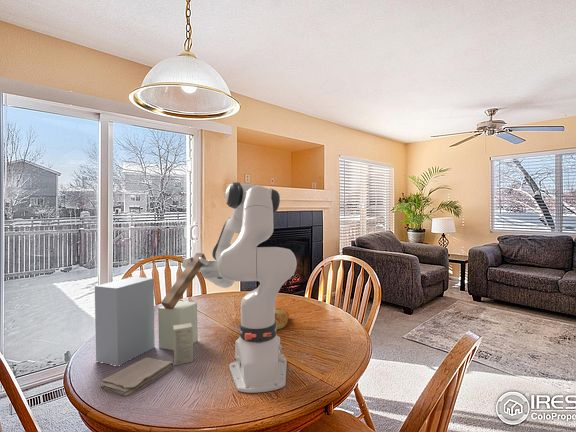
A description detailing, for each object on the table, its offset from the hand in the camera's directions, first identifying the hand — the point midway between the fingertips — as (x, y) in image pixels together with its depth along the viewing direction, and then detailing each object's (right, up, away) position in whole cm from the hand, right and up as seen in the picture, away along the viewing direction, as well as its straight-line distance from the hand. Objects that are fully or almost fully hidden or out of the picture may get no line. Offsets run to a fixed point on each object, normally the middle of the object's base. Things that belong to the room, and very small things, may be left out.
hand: (194, 259), depth 128 cm
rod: (-2, -9, -4) cm, 10 cm away
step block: (-3, -31, -9) cm, 33 cm away
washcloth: (-7, -33, -33) cm, 47 cm away
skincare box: (+3, -32, -23) cm, 39 cm away
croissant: (+34, -31, +10) cm, 47 cm away
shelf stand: (-19, -32, -17) cm, 41 cm away
